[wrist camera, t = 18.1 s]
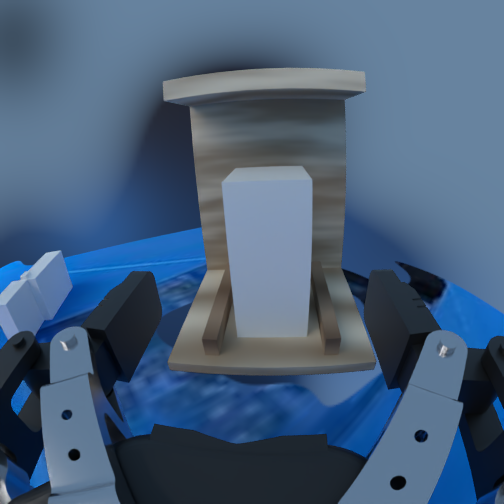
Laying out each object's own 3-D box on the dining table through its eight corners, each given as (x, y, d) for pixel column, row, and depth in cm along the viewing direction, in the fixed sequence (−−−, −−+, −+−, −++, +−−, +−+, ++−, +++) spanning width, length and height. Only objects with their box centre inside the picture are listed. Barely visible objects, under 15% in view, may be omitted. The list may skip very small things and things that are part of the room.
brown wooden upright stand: (373, 369, 17) (406, 48, 9) (170, 369, 18) (112, 65, 10) (337, 267, 30) (340, 86, 22) (211, 269, 32) (193, 93, 24)
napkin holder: (69, 279, 32) (57, 239, 30) (115, 302, 27) (100, 253, 25) (-16, 332, 20) (-36, 290, 18) (5, 380, 15) (-27, 328, 13)
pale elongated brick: (306, 336, 20) (312, 179, 15) (237, 337, 20) (221, 182, 15) (301, 290, 25) (301, 165, 21) (245, 291, 26) (236, 167, 21)
